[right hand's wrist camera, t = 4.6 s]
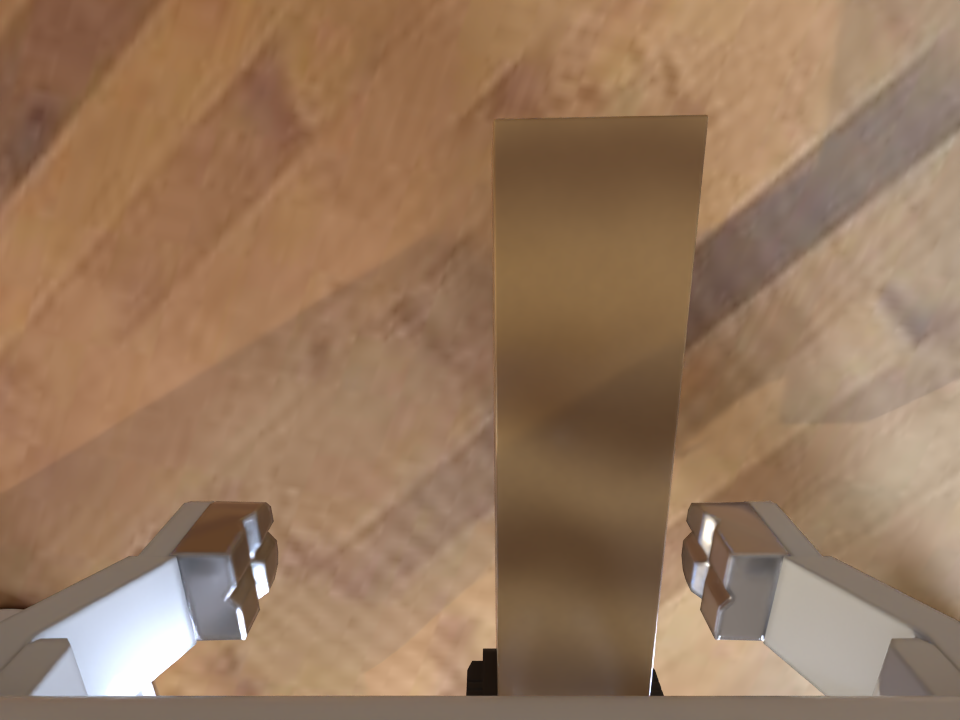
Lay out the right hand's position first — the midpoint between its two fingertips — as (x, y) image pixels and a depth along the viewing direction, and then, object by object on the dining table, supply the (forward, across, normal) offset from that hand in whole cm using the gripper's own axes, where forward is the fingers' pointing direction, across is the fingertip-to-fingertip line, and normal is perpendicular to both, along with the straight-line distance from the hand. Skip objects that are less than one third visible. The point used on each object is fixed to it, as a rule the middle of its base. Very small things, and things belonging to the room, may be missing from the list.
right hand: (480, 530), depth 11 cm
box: (+18, +4, -6) cm, 20 cm away
